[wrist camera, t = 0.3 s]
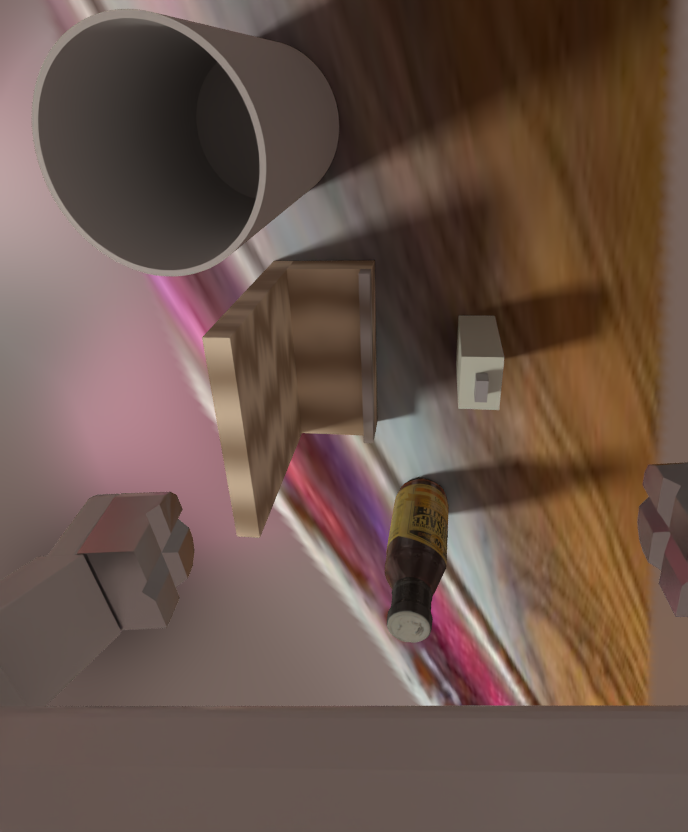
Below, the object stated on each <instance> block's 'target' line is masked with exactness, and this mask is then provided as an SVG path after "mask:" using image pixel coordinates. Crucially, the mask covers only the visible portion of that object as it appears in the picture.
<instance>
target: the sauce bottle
mask: <svg viewBox="0 0 688 832" xmlns="http://www.w3.org/2000/svg"><path fill="white" fill-rule="evenodd" d="M447 538H448V502H447V497H446V494H445V492H444V490H443V488H441V486H440V485H438V484H437V483H435V482H433V481H430V480H427V479H423V478H421V479H415V480H412V481H409V482H407V483H405V484H404V485H403V486H402V487H401V488H400V490H399V492H398V494H397V496H396V499H395V504H394V509H393V515H392V521H391V527H390V533H389V539H388V546H387V558H386V563H385V576H386V579H387V581H388V583H389V585H390V587H391V588H392V604H391V608H390V609H389V611H388V616H387V627H388V630H389V632H390V633H391V634H392V635H393V636H394V637H396V638H397V639H399V640H401V641H404V642H419V641H422V640H424V639H426V638H427V637H428V636H429V634H430V632H431V628H432V615H431V601H432V596H433V594H434V593H435V591H436V589H437V586H438V584H439V582H440V580H441V578H442V576H443V573H444V571H445V569H446V561H447Z"/></svg>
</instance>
